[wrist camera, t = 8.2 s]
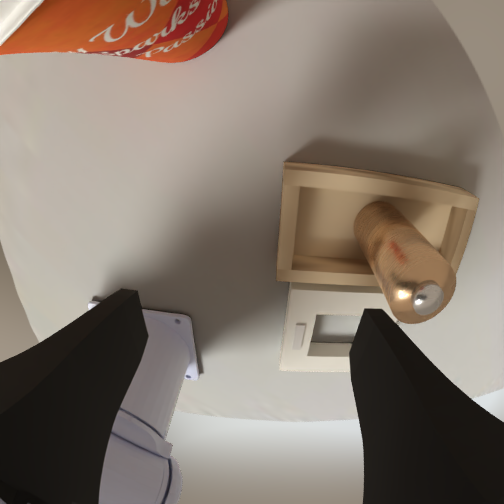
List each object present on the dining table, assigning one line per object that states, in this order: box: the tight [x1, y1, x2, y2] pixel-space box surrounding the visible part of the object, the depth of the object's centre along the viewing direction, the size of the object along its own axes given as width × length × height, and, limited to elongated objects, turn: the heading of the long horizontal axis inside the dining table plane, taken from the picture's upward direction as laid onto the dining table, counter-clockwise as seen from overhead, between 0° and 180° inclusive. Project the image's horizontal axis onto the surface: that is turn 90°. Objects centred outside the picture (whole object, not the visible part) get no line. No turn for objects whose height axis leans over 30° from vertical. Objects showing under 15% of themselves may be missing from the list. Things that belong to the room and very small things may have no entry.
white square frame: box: [279, 282, 398, 372], centre depth 20 cm, size 8×8×2 cm
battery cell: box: [353, 201, 456, 324], centre depth 13 cm, size 3×3×8 cm
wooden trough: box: [276, 162, 479, 287], centre depth 16 cm, size 12×6×2 cm, turn 88°
